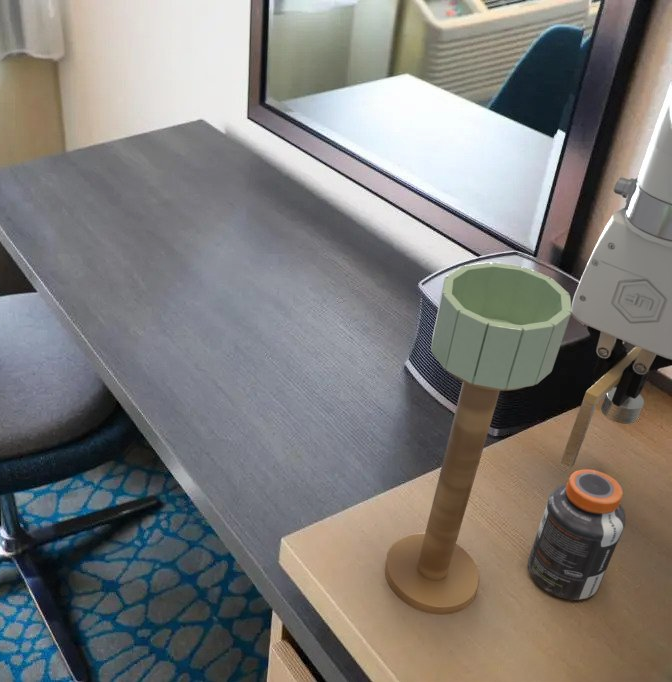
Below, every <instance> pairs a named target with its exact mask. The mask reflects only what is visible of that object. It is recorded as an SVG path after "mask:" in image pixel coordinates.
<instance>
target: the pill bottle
mask: <svg viewBox="0 0 672 682" xmlns="http://www.w3.org/2000/svg"><path fill="white" fill-rule="evenodd" d="M623 493H624V492H623V489H622V486H621V485H620V484H619V482H618V481H617V480H616V479H614V478H613V477H612V476H610V475H609V474H606V473H604V472H602V471H599V470H596V469H588V468H587V469H584V468H583V469H578V470H575V471H574V472H573V473H572V474H571V475H570V476H569V479H568V482H567V483H564V484H561V485H559V486H557V487H556V488H555V489H554V490H553V491H551V493H550V495H549V497H548V500H547V503H546V506H545V509H544V512H543V515H542V516H541V519H540V523H539V526H538V530H537V532H536V536H535V539H534V542H533V544H532V546H531V547H532V548H531V550H530V553H529V556H528V559H527V568H528V571H529V574H530V576H531V577H532V579H533V580H534V581H535V583H537V585H539V586H540V587H541V588H542V589H544V590H545V591H546V592H547V593H549V594H552V595H554V596H557V597H559V598H562V599H566V600H574V601H579V600H584V599H588V598H590V597H592V596H593V595H595V594H596V593H597V591H599V588H600V586H601V583H602V581H603V578H604V576H605V574H606V572H607V569H608V566H609V564H610V561H612V560H611V559H612V557H613V556H614V552H615V550H616V547H617V545H618V543H619V541H620V538H621V536H622V534H623V531H624V529H625V528H626V527H625V526H626V522H627V518H626V513H625V510H624V508H623V506H622V505H621V500H622V498H623Z"/></svg>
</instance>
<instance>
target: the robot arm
mask: <svg viewBox="0 0 672 682" xmlns="http://www.w3.org/2000/svg"><path fill="white" fill-rule="evenodd" d="M645 153H646V154H645V157H644V159H643V162H642V165H641V167H640V170H639V173H638V174H639V175H638V177H636V178H632V177H631V178H625V177H622V176H621V177H619V179H617V181H616V183H615V185H614V187H613V193H614V194H616V195H620V196H621V197H622V198H624V199H625V206H624V207H623V208H621V209H619V210H617V211H615V212H614V213H613V214H612V215H611V218H610V219H609V221H608V222H607V223H606V225H605V227H604V229H603V231H602V233H601V234H600V237H599V238H598V241H597V243H596V244H595V247H594V248H593V251H592V253H591V255H590V256H589V257H590V258H589V260H588V262H587V263H586V266H585V269H584V270H583V273H582V275H581V278H580V280H579V282H578V285H577V288H576V290H575V293H574V296H573V299H572V301H571V310H572V312H571V315H570V318H572V319H573V320H574V321H575V322H577V323H578V324H580V325H581V326H582V327H585V328H587V332H588V333H589V335H590V337H591V339H592V340H593V342H594V344H595V346H596V349H595V352H596V355H597V356H598V360H597V362H596V366H595V369H594V371H593V374H592V377H591V379H592V381H594V382H597V381H598V380H599V379H601V378H602V377H603V376H604V375H605V374H606V373H607V372H608V371H609V370H611V369H612V368H613V367H614V366H615V365H616V364H617V363H618V362H620V361H621V360H622V359H623V358H624V357H625V356H626V355H627V354H628V353H629V352H628V351H627V350H628V348H627V347H626V346H625V345H624V344H625V343H628V344H630V345H632V346H635V347H636V346H637V347H640V348H642V349H641V351H640V353H639V354H638V356H637V357H636V358H635V359H634V360H633V361H632V363H631V364H630V365H628V366H627V367H626V368H625V369H624V371H623V373H622V377H621V379H620V382H619V383H618V384H617V385H616V387H617V388H616V391H615V393H614V396H613V398H612V402H613V404H614V405H616V406H618V407H619V406H620V405H622V404H623V403H624V402H625V401H626V400H627V399H628V398H629V397H632V398H634V399H635V398H636V397H637V396H638V395H639V394H640V395H641V393H642V391H643V389H644V388H645V384H646V382H647V380H648V378H649V375H650V372H651V371H655V370H660V369H663V368H667V367H671V366H672V78H671V79H670V82H669V85H668V88H667V91H666V94H665V96H664V100H663V103H662V107H661V109H660V112H659V115H658V118H657V120H656V123H655V126H654V130H653V133H652V136H651V138H650V142H649V144H648V147H647V150H646V152H645Z"/></svg>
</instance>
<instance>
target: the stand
mask: <svg viewBox="0 0 672 682" xmlns="http://www.w3.org/2000/svg"><path fill="white" fill-rule="evenodd" d="M448 373H449V375H452V376H453V377H454V378H456V379H458V380H459V381H461V382H462V384H461V387H460V392H459V395H458V400H457V402H456V403H457V404H456V407H455V411H454V415H453V419H452V424H451V427H450V430H449V431H450V432H449V436H448V439H447V444H446V448H445V450H444V451H445V452H444V456H443V460H442V463H441V467H440V471H439V475H438V476H439V477H438V480H437V484H436V488H435V491H434V496H433V500H432V505H431V509H430V512H429V516H428V520H427V524H426V528H425V532H424V533H423V532H421V533H420V532H419V533H412V534H408V535H405V536H403V537H401V538H399V539H398V540H396V541H395V542H394V543H393V544H392V545H391V547H390V548H389V549H388V552H387V555H386V560H385V564H384V573H385V578H386V581H387V583H388V585H389V587H390V589H391V591H392V592H393V593H394V594H395V595H396V596H397V598H399V599H400V600H401V601H402V602H403V603H405V604H407V605H408V606H410V607H411V608H413V609H415V610H418V611H420V612H423V613H425V614H431V615H451V614H456V613H458V612H460V611H461V612H462V611H463V610H464V609H466V608H468V606H470V605H471V603H472V602H473V600H474V599H475V597H476V594H477V591H478V588H479V584H480V575H479V570H478V567H477V565H476V563H475V561H474V559H473V558H472V556H471V555H470V554H469V553H468V551H466V550H465V549H464V548H463V547H462V546H460V545H459V544H457V542H458V541H457V540H458V538H459V534H460V531H461V527H462V523H463V520H464V517H465V514H466V509H467V507H468V503H469V499H470V496H471V492H472V489H473V486H474V482H475V479H476V477H477V472H478V468H479V464H480V461H481V458H482V455H483V452H484V448H485V444H486V441H487V437H488V433H489V430H490V426H491V423H492V421H493V417H494V413H495V410H496V406H497V403H498V400H499V396H500V392H505V391H506V392H507V391H508V392H509V391H516V390H521V389H524V388H525V387H522V388H516V389H509V390H507V389H505V390H503V389H497V388H491V387H486V386H480V385H475V384H474V383H469V382H467V381H465V380H463V379H461V378H460V377H458V376H456V375H454V374H452V373H450V372H448Z"/></svg>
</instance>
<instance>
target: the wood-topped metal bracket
mask: <svg viewBox="0 0 672 682" xmlns="http://www.w3.org/2000/svg"><path fill="white" fill-rule="evenodd" d="M641 349H642V348H640V347H637V346H635V347H633V348H632V349H631V350H630V351H629V352H628V353H627V355H626V356H625V357H624V358H623V359H622V360H621V361H620V362H618V363H617V364H616V365H615V366H614V367H613V368H612V369H611V370H609V371H608V372H607V373H606V374H605V375H604V376H603V377H602V378H601V379H599V380H598V381H595V383H594V384H592V385H591V387H589V388H588V389H587V390H586V391H585V394H584V396H583V400H582V401H581V405H580V408H579V410H578V413H577V416H576V417H575V421H574V423H573V427H572V429H571V432H570V435H569V438H568V440H567V442H566V443H567V444H566V446H565V447H564V448H565V449H564V452H563V454H562V457H561V460H560V464H563V466H566V467H568V468H569V469H571V468H572V467H574V466H575V463H576V461H577V458H578V455H579V453H580V450H581V447H582V445H583V442H584V439H585V437H586V434H587V432H588V429H589V426H590V423H591V421H592V418H593V416H594V413H595V410H596V407H597V405H598V403H599V402H600V401H602V399H603V398H604V400H603V401H602V405H601V407H600V410H601V413H602V414H603V416H604V417H606V418H607V419H608V420H610V421H612V422H614V423H617V424H621V425H622V424H623V425H630V424H633V423H635V422H637V420H638V419H639V416H640V414H641V412H642V410H643V407H644V404H645V399H644V398H643V396H642V395H641V393H640V394H639V395H638V396H637V397H636V398H635V399H634V398H632V397H629V398H628V399H627V400H626V401H625V402H624V403H623V404H622V405H620V406H619V407H618V406H616V405H614V404H613V402H612V398H613V396H614V393H615V391H616V388H617V386H618V383H619V382H620V379H621V377H622V373H623V371H624V369H625V368H626V367H627V366H628V365H630V364H631V363H632V361H633V360H634V359H635V358H636V357H637V356H638V354H639V353H640V351H641Z"/></svg>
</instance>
